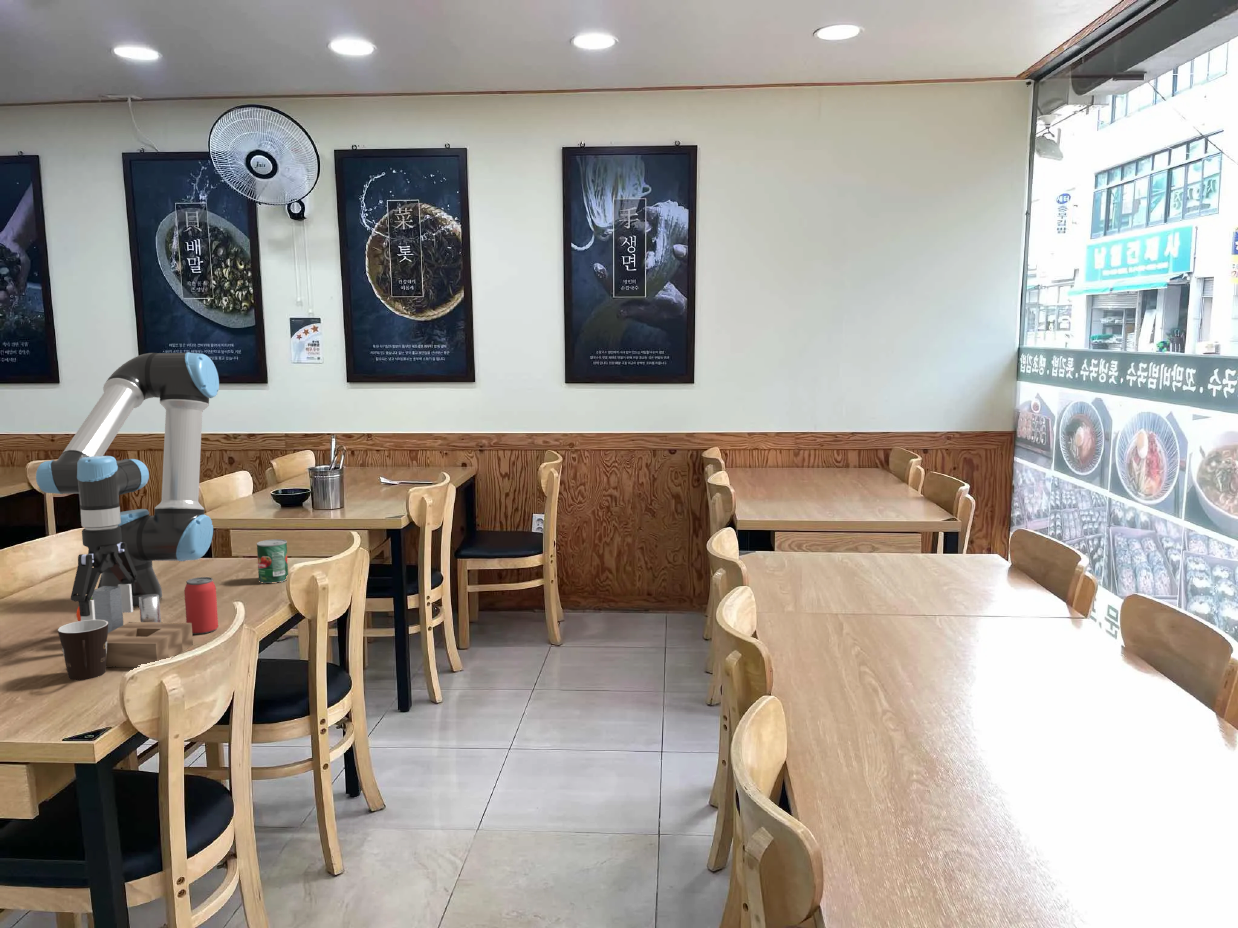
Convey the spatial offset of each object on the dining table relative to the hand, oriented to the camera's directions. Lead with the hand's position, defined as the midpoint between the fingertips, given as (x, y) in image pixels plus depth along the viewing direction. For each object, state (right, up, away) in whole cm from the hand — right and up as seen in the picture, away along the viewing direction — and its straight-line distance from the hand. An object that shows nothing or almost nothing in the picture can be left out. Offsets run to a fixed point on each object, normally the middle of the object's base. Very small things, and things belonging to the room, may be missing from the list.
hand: (108, 620), depth 199 cm
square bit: (0, -5, +1) cm, 5 cm away
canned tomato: (+16, +2, +53) cm, 55 cm away
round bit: (+9, -5, +1) cm, 10 cm away
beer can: (+17, -4, +8) cm, 19 cm away
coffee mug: (+7, -8, -21) cm, 24 cm away
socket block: (+13, -6, -9) cm, 16 cm away
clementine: (-10, -4, +11) cm, 15 cm away
